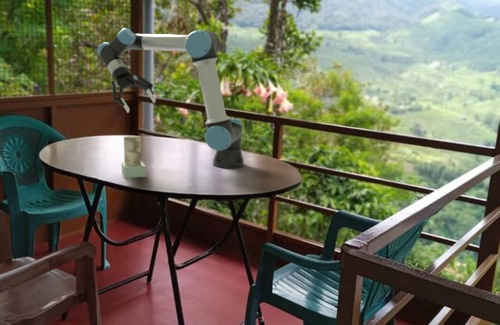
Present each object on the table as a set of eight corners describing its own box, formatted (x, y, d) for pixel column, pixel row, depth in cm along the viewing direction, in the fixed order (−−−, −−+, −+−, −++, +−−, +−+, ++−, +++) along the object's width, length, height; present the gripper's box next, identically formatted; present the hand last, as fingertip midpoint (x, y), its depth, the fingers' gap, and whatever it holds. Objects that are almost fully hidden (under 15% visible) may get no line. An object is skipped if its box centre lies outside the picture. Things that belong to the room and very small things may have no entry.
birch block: (133, 162, 228) (133, 135, 226) (141, 164, 225) (140, 137, 223) (124, 164, 225) (124, 136, 222) (132, 165, 222) (131, 138, 219)
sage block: (142, 172, 232) (142, 161, 231) (145, 177, 224) (145, 166, 223) (121, 173, 229) (121, 162, 228) (124, 178, 221) (124, 166, 220)
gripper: (141, 68, 249) (164, 101, 243) (93, 84, 236) (116, 119, 231) (143, 58, 243) (166, 92, 237) (94, 74, 230) (117, 110, 225)
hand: (141, 105), depth 234 cm, fingers open, 13 cm apart
